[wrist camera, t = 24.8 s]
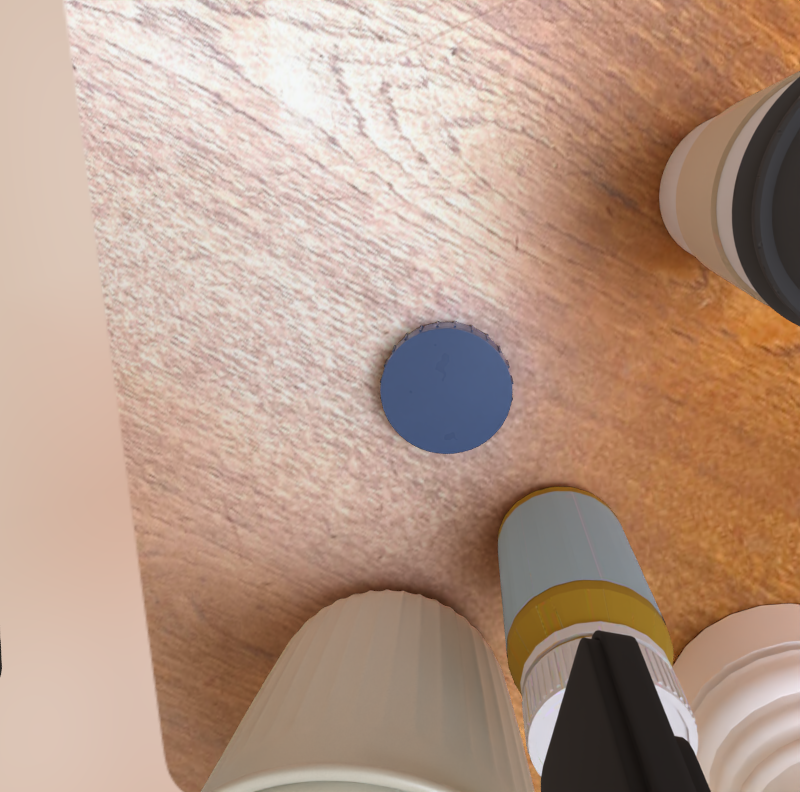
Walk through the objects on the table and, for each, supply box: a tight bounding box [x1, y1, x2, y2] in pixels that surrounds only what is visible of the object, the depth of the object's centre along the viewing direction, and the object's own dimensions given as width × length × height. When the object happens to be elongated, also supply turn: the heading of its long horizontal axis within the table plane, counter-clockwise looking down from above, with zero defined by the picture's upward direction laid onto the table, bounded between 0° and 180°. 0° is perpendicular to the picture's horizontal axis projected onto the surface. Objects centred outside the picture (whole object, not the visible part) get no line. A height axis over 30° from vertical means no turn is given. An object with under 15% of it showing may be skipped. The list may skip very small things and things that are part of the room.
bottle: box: [498, 487, 698, 776], centre depth 31 cm, size 7×7×15 cm
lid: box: [380, 321, 513, 454], centre depth 36 cm, size 7×7×2 cm
